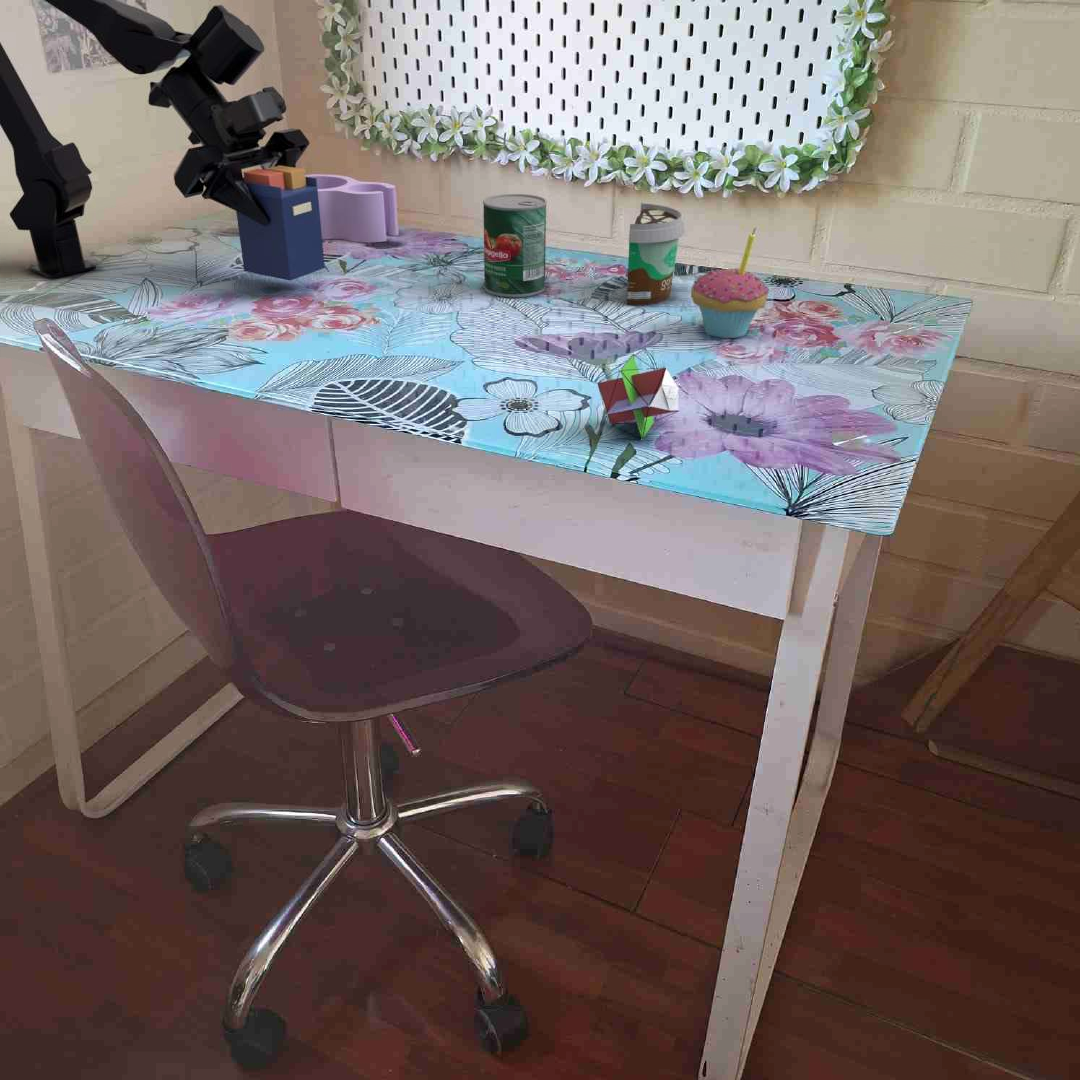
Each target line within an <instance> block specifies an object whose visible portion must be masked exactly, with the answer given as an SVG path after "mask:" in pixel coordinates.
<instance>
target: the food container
mask: <svg viewBox="0 0 1080 1080" xmlns="http://www.w3.org/2000/svg"><path fill="white" fill-rule="evenodd" d="M685 233H686V231H685V221H684V218H683V217H682V213H681V212H680V211H679V210H677V209H675V208H674V207H669V206H665V205H661V204H653V203H645V202H642V203H641V202H640V213H639V215H638V216H637V217H636V219H635V222H634V223H630V224H629V233H628V261H627V262H628V263H627V281H626V282H627V283H626V284H627V285H626V303H625V304H626V306H629V305H630V306H644V305H645V306H647V305H653V304H659V303H662V302H666V301H667V300H668V299H670V297H671V292H672V286H673V278H674V273H675V266H676V265H675V264H676V260H677V259H676V258H677V254H678V253H677V251H678V245H679V240H680V239H679V238H682V237H683V236H684V235H685Z"/></svg>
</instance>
